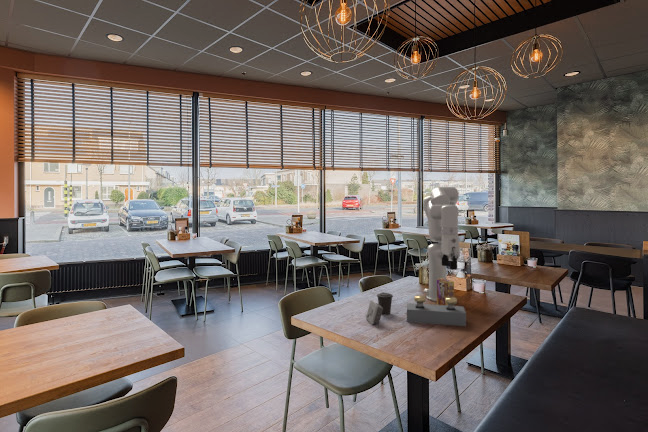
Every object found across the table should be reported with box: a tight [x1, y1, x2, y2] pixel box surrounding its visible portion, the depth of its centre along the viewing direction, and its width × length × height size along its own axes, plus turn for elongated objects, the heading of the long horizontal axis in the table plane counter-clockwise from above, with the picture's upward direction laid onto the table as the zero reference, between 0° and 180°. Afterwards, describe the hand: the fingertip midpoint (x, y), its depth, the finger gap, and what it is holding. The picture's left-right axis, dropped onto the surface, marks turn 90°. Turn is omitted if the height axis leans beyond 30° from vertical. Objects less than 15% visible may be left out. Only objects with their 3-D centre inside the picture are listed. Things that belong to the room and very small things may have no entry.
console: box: [406, 302, 467, 327], centre depth 169 cm, size 26×10×6 cm, turn 76°
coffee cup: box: [376, 292, 394, 316], centre depth 181 cm, size 8×8×10 cm
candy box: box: [436, 278, 455, 306], centre depth 186 cm, size 9×4×15 cm, turn 20°
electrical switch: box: [365, 300, 383, 326], centre depth 169 cm, size 9×5×9 cm, turn 10°
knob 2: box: [445, 296, 458, 310], centre depth 167 cm, size 5×5×6 cm
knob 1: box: [414, 294, 426, 308], centre depth 171 cm, size 5×5×6 cm
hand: (449, 267), depth 169 cm, fingers open, 9 cm apart
